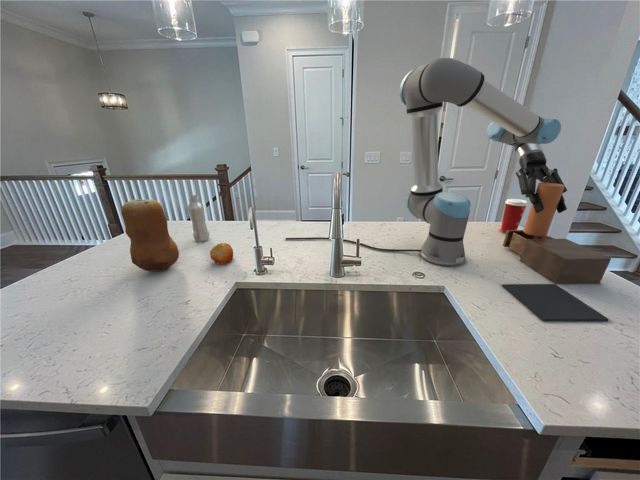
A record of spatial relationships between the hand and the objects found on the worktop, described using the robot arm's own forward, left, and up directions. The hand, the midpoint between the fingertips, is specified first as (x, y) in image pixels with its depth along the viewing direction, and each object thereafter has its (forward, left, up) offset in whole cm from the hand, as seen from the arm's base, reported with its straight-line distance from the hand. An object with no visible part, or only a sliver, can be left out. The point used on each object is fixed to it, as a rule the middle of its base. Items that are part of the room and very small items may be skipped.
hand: (551, 211), depth 89 cm
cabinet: (0, -10, -18) cm, 21 cm away
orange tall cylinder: (0, +3, -10) cm, 10 cm away
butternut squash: (-137, -7, -18) cm, 138 cm away
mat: (-16, -27, -18) cm, 36 cm away
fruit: (-116, -2, -18) cm, 117 cm away
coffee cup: (+8, +27, -18) cm, 34 cm away
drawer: (0, +4, -17) cm, 18 cm away
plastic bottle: (-133, +19, -18) cm, 136 cm away
